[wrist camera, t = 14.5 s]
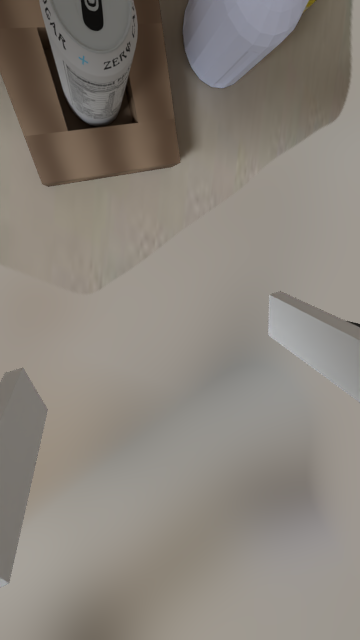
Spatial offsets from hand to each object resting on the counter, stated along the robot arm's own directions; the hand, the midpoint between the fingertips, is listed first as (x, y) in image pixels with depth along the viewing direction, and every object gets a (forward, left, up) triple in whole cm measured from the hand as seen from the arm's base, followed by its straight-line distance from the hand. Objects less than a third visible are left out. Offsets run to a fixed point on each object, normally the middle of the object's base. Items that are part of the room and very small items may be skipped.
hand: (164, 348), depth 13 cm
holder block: (+2, +18, -26) cm, 32 cm away
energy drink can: (+2, +18, -26) cm, 32 cm away
